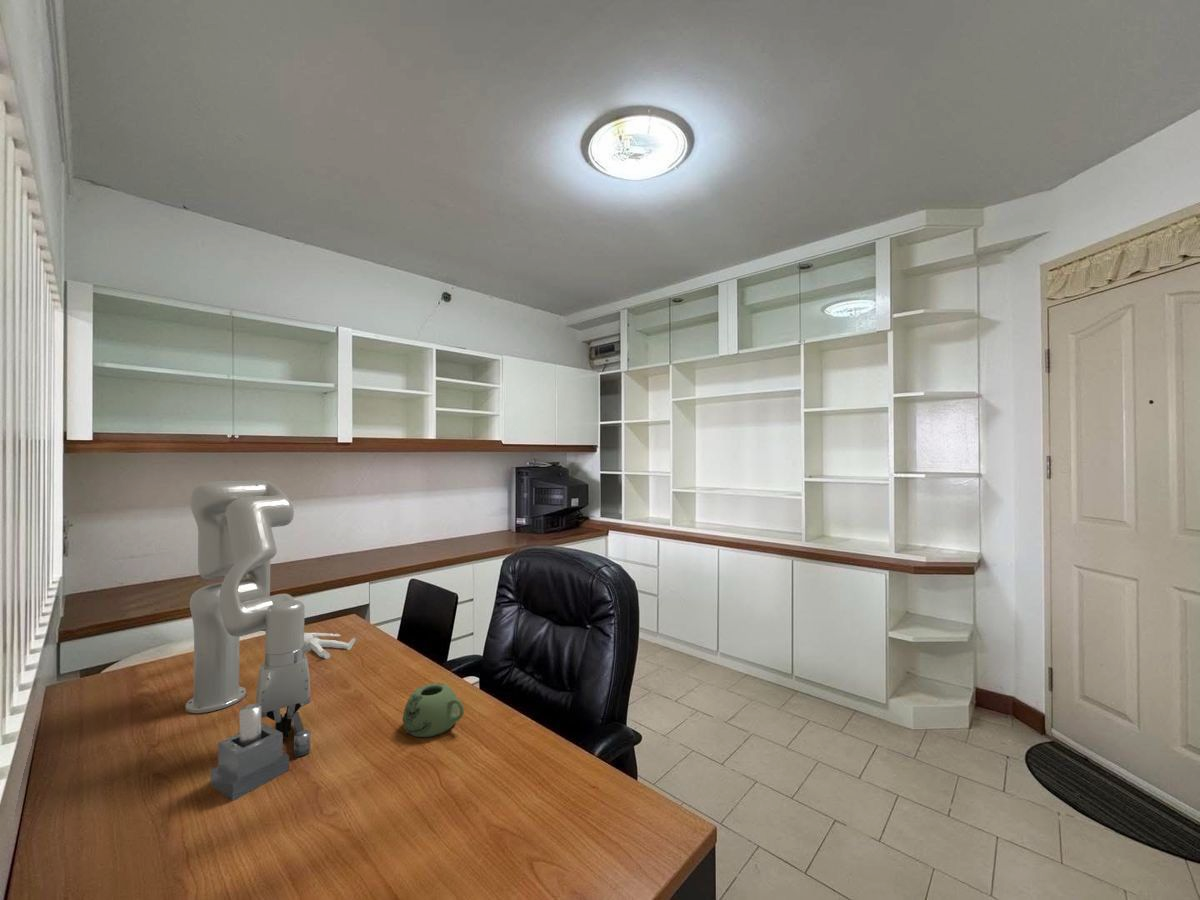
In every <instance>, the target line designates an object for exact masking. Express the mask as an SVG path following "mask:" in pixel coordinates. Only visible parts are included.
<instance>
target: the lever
mask: <svg viewBox="0 0 1200 900" xmlns="http://www.w3.org/2000/svg"><path fill="white" fill-rule="evenodd" d="M291 729H292V732H293V756H294V757H297V758H298V757H304V756H305V755H307V754H309V753H310V752H311V730H310V729H304V725H303V723H302V719H301V713H300V712H299V711H297V712H296V713H295V714H294V715H293V718H291Z"/></svg>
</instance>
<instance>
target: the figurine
mask: <svg viewBox="0 0 1200 900" xmlns="http://www.w3.org/2000/svg"><path fill="white" fill-rule="evenodd" d="M319 637H329V638H332V637H341V634H339V633H326V632H304V645H305V646H311V651H313V652H314V653H316V655H318V657H320V658H323V659H325V660H328V659H330V657H331V654H330V653H329V652H328V651H327V650H326V649H324V648H334V649H344V650H346V651H349V650H351V649H352V648H353V645H354V644H355V642H356V641H357V640H356V638H355V637H354V638H351V639H350V641H349V642H345V641H340V640H335V639H320V638H319Z"/></svg>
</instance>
